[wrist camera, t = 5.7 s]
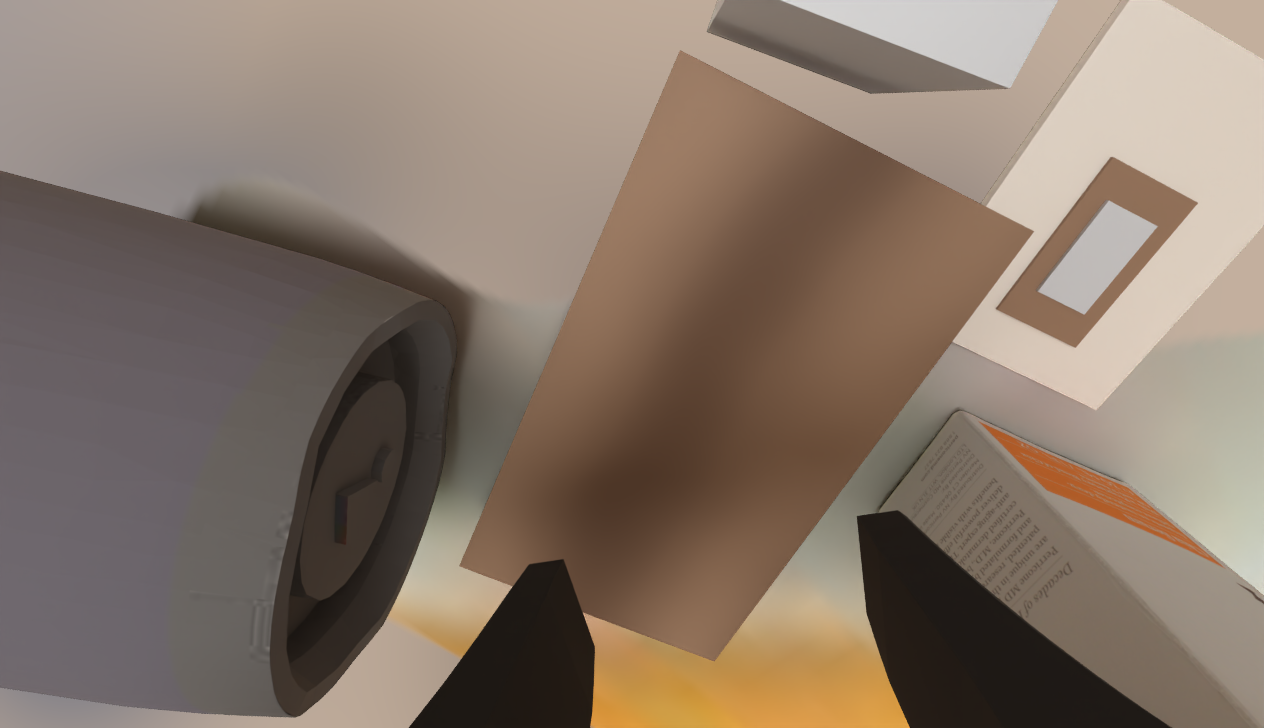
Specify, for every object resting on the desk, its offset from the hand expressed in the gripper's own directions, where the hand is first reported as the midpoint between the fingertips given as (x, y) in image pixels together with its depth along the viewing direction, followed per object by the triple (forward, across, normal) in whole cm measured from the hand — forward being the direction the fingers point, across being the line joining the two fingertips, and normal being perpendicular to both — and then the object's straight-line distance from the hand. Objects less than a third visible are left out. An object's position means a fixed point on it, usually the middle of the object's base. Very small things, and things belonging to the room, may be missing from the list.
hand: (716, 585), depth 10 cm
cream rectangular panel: (+8, -10, -2) cm, 13 cm away
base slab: (+8, 0, 0) cm, 8 cm away
